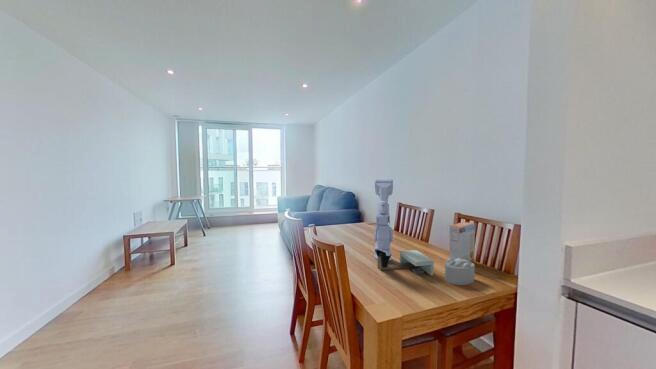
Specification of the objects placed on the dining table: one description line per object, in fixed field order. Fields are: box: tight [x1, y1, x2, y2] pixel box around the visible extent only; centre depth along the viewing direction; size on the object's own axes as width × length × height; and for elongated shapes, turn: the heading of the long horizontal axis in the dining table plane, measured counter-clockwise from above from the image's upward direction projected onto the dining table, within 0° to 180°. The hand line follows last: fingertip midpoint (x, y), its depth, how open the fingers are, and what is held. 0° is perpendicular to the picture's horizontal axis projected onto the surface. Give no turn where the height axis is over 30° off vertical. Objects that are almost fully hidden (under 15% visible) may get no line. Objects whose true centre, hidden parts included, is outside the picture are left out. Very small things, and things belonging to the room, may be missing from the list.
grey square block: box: [411, 267, 425, 275], centre depth 124 cm, size 4×4×2 cm
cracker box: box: [449, 221, 476, 264], centre depth 135 cm, size 14×6×21 cm, turn 122°
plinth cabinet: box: [399, 249, 435, 276], centre depth 127 cm, size 16×9×7 cm, turn 10°
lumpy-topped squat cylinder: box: [444, 257, 476, 286], centre depth 116 cm, size 10×13×9 cm
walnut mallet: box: [377, 256, 418, 271], centre depth 130 cm, size 4×20×6 cm, turn 100°
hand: (382, 265), depth 129 cm, fingers closed on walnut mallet, 4 cm apart
